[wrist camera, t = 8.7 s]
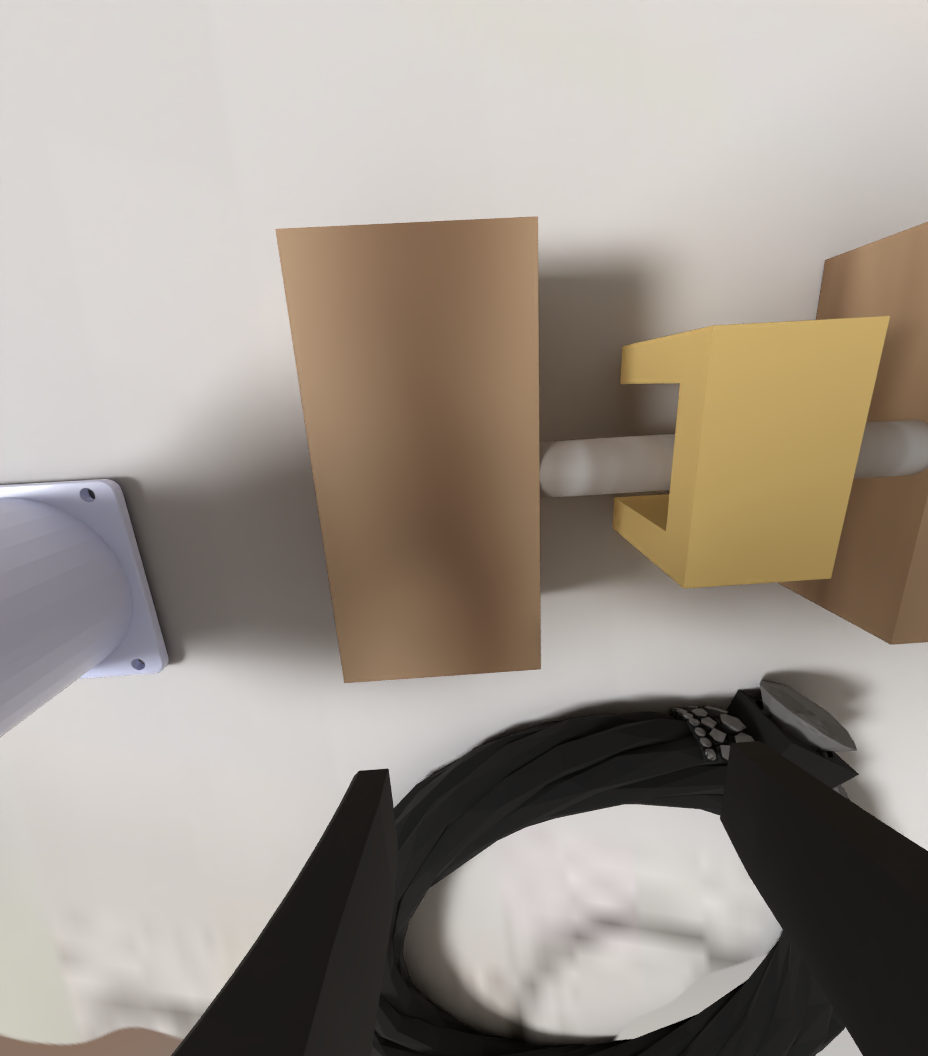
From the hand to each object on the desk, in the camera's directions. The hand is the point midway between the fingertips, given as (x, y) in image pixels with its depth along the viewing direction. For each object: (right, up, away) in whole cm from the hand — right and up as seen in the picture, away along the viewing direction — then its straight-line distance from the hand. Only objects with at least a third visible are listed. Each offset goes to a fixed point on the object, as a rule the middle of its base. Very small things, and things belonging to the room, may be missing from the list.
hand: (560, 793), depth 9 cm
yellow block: (+5, +9, +6) cm, 12 cm away
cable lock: (+6, -14, +15) cm, 21 cm away
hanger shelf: (+5, +9, +7) cm, 13 cm away
